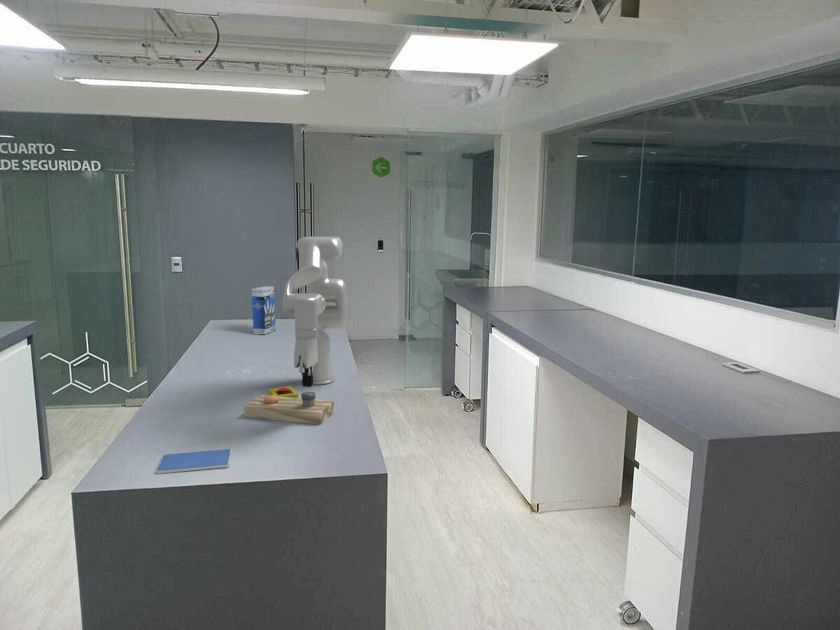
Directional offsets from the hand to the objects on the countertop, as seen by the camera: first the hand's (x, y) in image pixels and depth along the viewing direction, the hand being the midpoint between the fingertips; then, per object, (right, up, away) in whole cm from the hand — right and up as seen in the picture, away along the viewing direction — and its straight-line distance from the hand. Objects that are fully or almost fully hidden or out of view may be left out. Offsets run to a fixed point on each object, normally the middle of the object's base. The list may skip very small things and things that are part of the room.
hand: (307, 386), depth 207 cm
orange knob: (-14, -10, +6) cm, 18 cm away
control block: (-7, -10, +4) cm, 13 cm away
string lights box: (-50, +14, +138) cm, 148 cm away
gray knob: (0, -8, +2) cm, 9 cm away
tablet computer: (-25, -18, -35) cm, 47 cm away
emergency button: (-13, -8, +22) cm, 27 cm away
